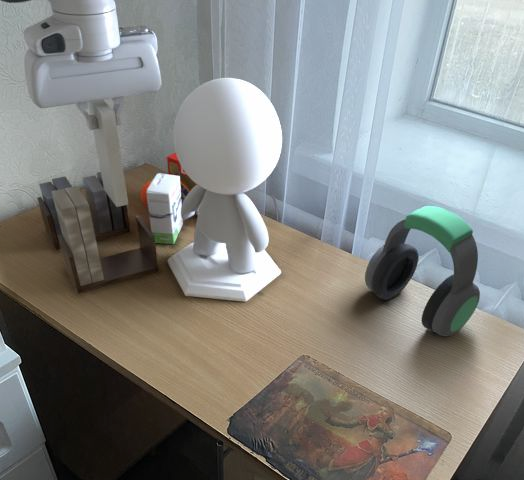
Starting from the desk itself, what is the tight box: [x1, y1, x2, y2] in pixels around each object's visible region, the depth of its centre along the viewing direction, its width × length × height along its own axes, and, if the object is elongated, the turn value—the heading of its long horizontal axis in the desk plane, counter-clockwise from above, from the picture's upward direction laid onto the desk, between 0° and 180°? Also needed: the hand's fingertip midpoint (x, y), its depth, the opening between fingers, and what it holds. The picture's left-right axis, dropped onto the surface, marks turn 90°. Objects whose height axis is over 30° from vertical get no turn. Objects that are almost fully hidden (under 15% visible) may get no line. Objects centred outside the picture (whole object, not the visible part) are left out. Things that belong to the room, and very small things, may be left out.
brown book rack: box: [51, 185, 159, 294], centre depth 100 cm, size 16×8×17 cm, turn 120°
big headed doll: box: [167, 77, 283, 303], centre depth 95 cm, size 20×23×35 cm
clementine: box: [140, 177, 155, 209], centre depth 121 cm, size 8×7×7 cm
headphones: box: [364, 205, 481, 337], centre depth 93 cm, size 19×11×20 cm, turn 40°
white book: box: [88, 99, 129, 207], centre depth 91 cm, size 2×7×16 cm, turn 30°
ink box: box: [146, 172, 184, 245], centre depth 112 cm, size 9×5×12 cm, turn 173°
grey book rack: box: [36, 171, 131, 251], centre depth 111 cm, size 16×8×12 cm, turn 120°
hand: (104, 126), depth 87 cm, fingers closed on white book, 2 cm apart
